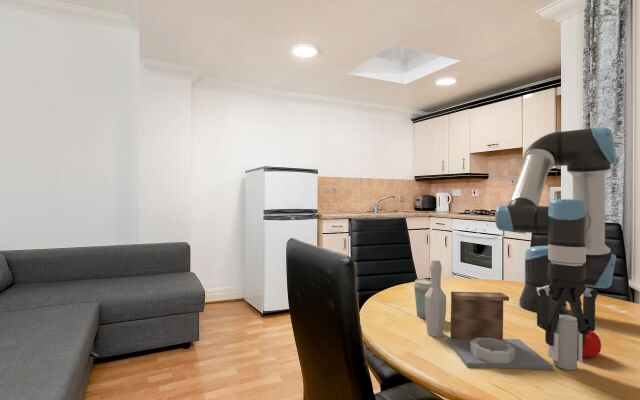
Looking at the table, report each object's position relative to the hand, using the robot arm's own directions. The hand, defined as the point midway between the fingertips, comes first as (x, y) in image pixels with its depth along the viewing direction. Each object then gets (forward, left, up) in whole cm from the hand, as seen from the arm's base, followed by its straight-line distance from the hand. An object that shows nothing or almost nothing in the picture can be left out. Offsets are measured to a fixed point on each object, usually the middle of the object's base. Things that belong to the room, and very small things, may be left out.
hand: (564, 358), depth 87 cm
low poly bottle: (+26, -19, -2) cm, 32 cm away
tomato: (-8, -9, -2) cm, 12 cm away
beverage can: (0, 0, -2) cm, 2 cm away
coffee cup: (+25, -35, -2) cm, 43 cm away
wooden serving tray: (+16, -12, -2) cm, 20 cm away
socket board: (+14, -6, -2) cm, 15 cm away
